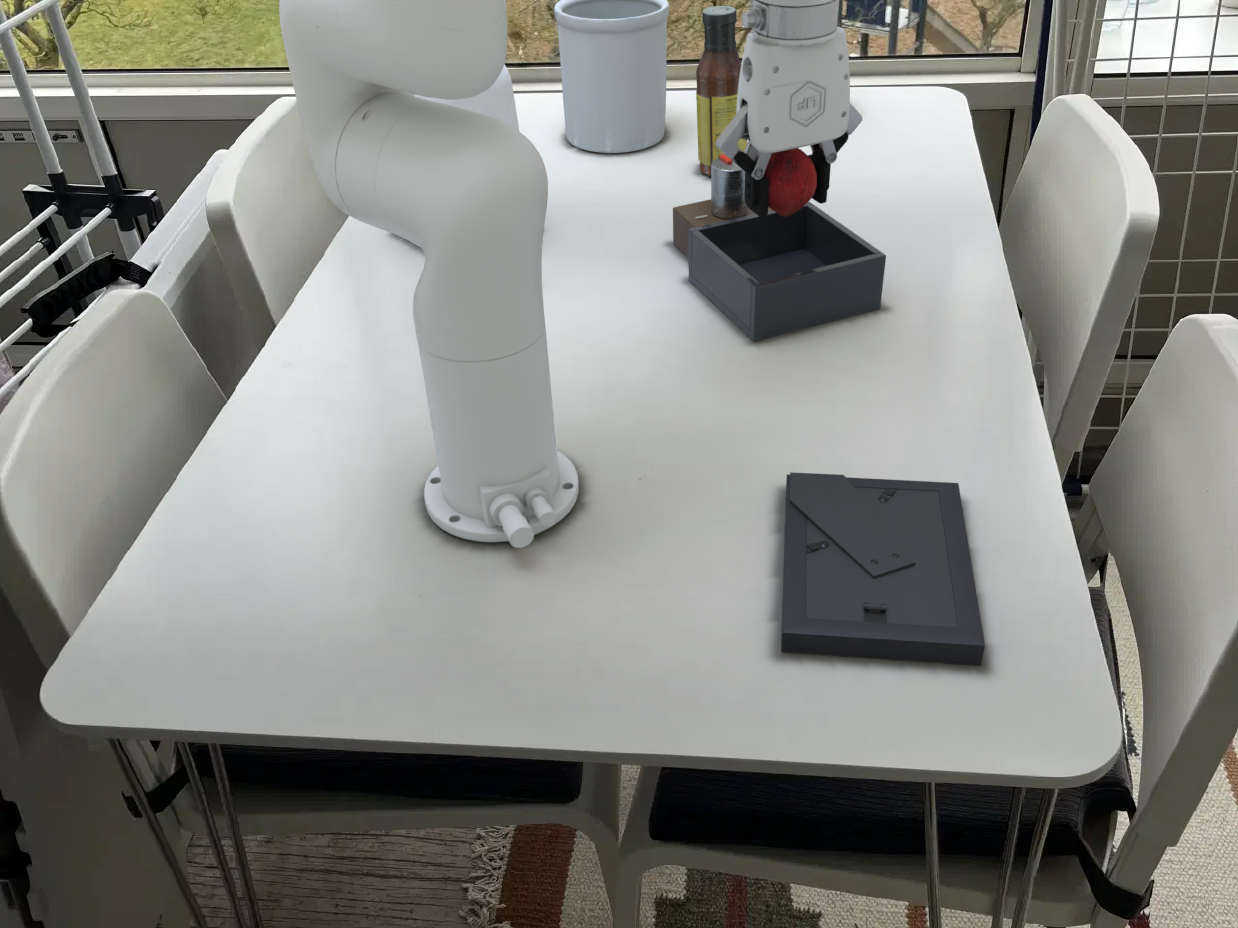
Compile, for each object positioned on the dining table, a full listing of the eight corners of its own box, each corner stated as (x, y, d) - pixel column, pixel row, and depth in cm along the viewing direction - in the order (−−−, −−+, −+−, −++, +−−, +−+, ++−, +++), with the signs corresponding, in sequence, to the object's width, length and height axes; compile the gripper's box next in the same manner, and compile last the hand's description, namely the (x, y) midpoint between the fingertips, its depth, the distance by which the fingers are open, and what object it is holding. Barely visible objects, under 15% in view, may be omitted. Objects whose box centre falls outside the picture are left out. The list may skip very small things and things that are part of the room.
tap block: (785, 254, 126) (787, 215, 123) (705, 273, 123) (705, 234, 120) (750, 226, 132) (751, 188, 130) (672, 244, 129) (672, 205, 127)
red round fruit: (812, 230, 111) (817, 151, 106) (753, 227, 112) (756, 149, 107) (816, 205, 115) (821, 128, 111) (759, 203, 116) (761, 127, 112)
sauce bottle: (755, 166, 147) (760, 6, 135) (732, 183, 142) (735, 19, 131) (710, 157, 149) (711, 0, 138) (687, 174, 145) (686, 13, 133)
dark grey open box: (880, 309, 115) (886, 255, 112) (753, 342, 111) (755, 287, 108) (806, 252, 126) (809, 201, 123) (688, 280, 122) (688, 228, 119)
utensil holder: (604, 110, 166) (598, -17, 155) (690, 128, 158) (690, -4, 148) (541, 143, 156) (530, 10, 146) (630, 163, 149) (625, 25, 139)
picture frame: (785, 492, 92) (780, 652, 78) (786, 470, 91) (782, 629, 77) (955, 501, 90) (981, 666, 76) (959, 479, 89) (986, 642, 75)
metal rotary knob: (753, 214, 124) (755, 163, 121) (721, 221, 123) (722, 170, 120) (736, 201, 127) (737, 151, 124) (704, 208, 126) (704, 158, 122)
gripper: (729, 43, 97) (726, 238, 108) (900, 13, 102) (881, 201, 113) (691, 21, 102) (691, 208, 113) (855, -6, 107) (840, 175, 118)
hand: (786, 203), depth 113 cm, fingers closed on red round fruit, 5 cm apart
